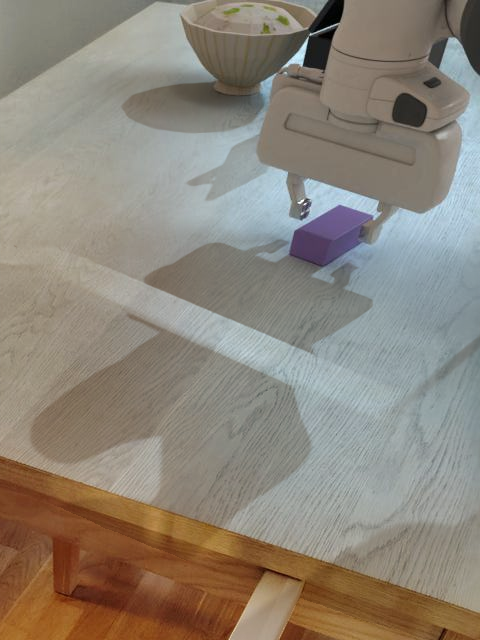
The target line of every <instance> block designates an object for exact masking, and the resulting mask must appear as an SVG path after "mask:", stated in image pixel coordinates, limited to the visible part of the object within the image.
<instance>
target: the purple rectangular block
mask: <svg viewBox="0 0 480 640" xmlns="http://www.w3.org/2000/svg"><path fill="white" fill-rule="evenodd" d="M370 219H371V220H374V215H373V214H370V213H367V212H364V211H360V210H357V209H355V208H351V207H349V206H345V205H342V204H338V205H337V206H335V207H333V208H331V209H329V210H328V211H326V212H325V213H322V214H321V215H319V216H317V217H315V218H314V219H312V220H310V221H308V222H307V223H305V224H304V225H302V226H300V227H298V228H297V229H295V230H293V234H292V239H291V244H290V248H289V251H288V254H289V255H291V256H294V257H297V258H299V259H302V260H305V261H308V262H310V263H313V264H316V265H318V266H322V267H325V266H326V265H328V264H329V263H331V262H332V261H334V260H335V259H337V258H338V257H340V256H342V255H343V254H345V253H347V252H348V251H350V250H351V249H353V248H355V247H356V246H358V245H359V244H361V243H362V242H361V241H358V236H359V235H360V229H361V225H362V224H364V223H367V221H369V220H370Z"/></svg>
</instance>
